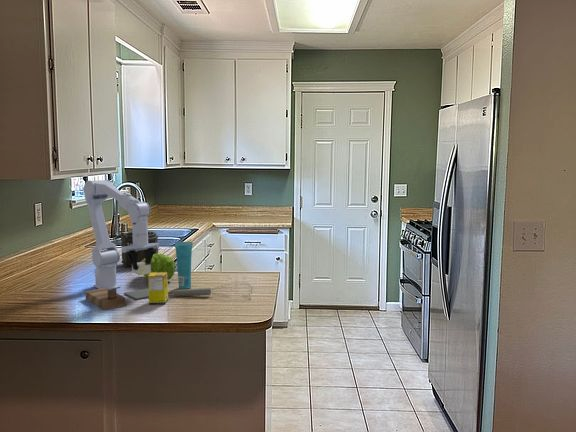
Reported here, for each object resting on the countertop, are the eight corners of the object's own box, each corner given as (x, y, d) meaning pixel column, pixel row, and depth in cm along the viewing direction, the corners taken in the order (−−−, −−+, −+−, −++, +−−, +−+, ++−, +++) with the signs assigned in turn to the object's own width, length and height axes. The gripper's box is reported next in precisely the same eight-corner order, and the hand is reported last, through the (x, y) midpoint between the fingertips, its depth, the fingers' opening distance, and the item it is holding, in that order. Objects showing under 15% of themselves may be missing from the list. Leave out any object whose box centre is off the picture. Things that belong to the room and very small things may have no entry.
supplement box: (168, 300, 196) (167, 271, 195) (165, 304, 190) (164, 275, 189) (152, 300, 196) (151, 271, 194) (148, 305, 190) (147, 275, 189)
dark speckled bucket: (156, 260, 271) (156, 230, 269) (161, 266, 254) (160, 235, 253) (120, 262, 265) (119, 231, 263) (122, 269, 248) (121, 237, 246)
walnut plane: (85, 299, 197) (85, 283, 197) (106, 295, 203) (106, 280, 202) (103, 309, 184) (103, 293, 183) (125, 305, 189) (125, 289, 188)
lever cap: (132, 272, 204) (131, 263, 203) (143, 270, 207) (142, 261, 206) (139, 275, 198) (139, 266, 198) (150, 273, 201) (150, 264, 201)
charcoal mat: (124, 294, 204) (124, 292, 204) (148, 289, 211) (148, 288, 211) (136, 300, 196) (136, 298, 196) (160, 295, 203) (160, 293, 202)
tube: (194, 286, 217) (193, 240, 214) (192, 289, 212) (191, 242, 209) (176, 286, 217) (175, 240, 214) (174, 289, 212) (173, 242, 210)
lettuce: (163, 260, 242) (138, 247, 235) (185, 262, 225) (158, 248, 217) (151, 285, 238) (125, 273, 231) (172, 290, 221) (144, 276, 213)
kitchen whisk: (170, 294, 205) (170, 279, 204) (253, 296, 203) (253, 280, 202) (166, 298, 199) (165, 283, 198) (251, 300, 197) (251, 284, 197)
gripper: (126, 237, 193) (127, 273, 195) (162, 233, 202) (163, 267, 204) (118, 234, 198) (120, 269, 200) (154, 231, 208) (155, 264, 209)
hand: (141, 268), depth 202 cm, fingers closed on lever cap, 4 cm apart
